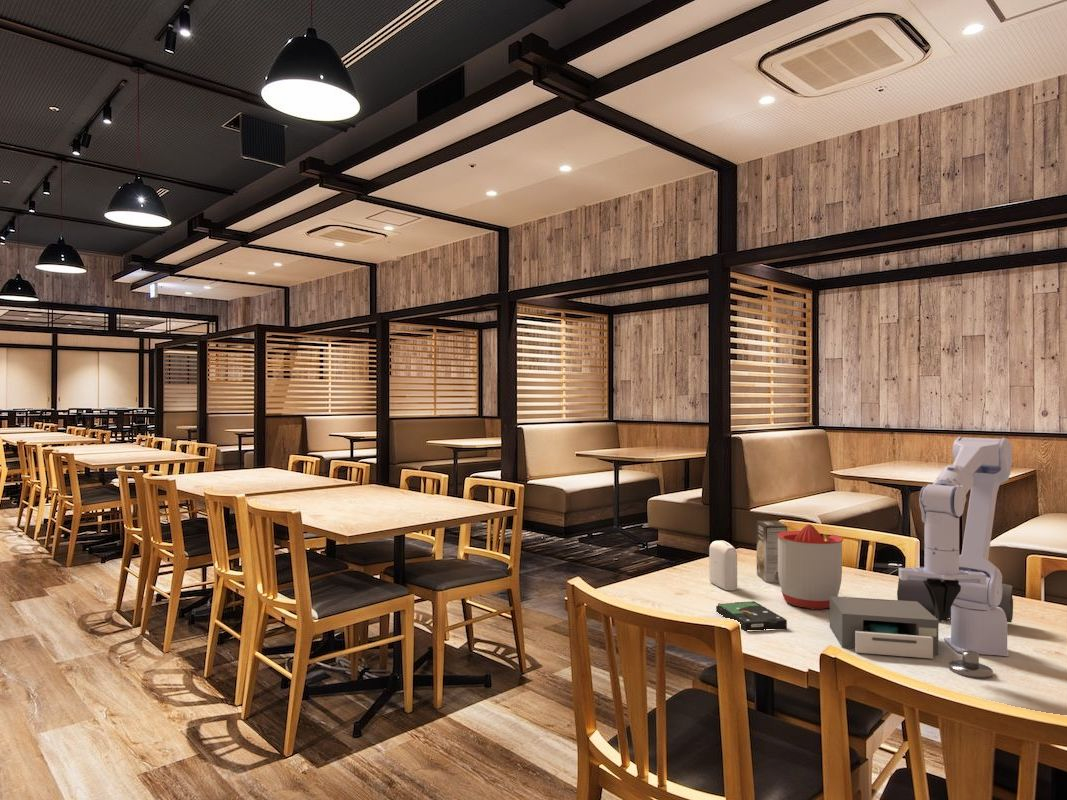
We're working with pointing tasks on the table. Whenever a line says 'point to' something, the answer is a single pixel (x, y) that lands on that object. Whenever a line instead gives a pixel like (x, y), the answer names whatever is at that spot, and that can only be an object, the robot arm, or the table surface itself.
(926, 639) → the drawer
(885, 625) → the teal rounded disc
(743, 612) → the disk drive
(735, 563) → the photo printer
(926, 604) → the bluetooth speaker
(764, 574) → the coffee box
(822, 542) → the citrus juicer
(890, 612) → the player cabinet
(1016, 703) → the table surface
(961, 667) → the spindle stand
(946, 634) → the table surface
